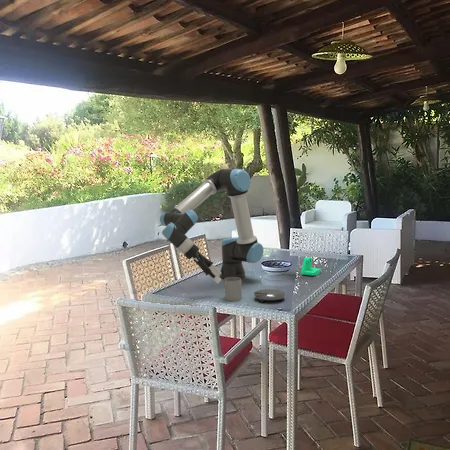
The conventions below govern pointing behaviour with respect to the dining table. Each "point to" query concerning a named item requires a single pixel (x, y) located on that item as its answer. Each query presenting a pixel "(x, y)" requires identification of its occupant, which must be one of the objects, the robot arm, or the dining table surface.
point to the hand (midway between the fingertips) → (219, 278)
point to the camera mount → (309, 267)
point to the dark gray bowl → (269, 295)
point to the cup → (233, 289)
